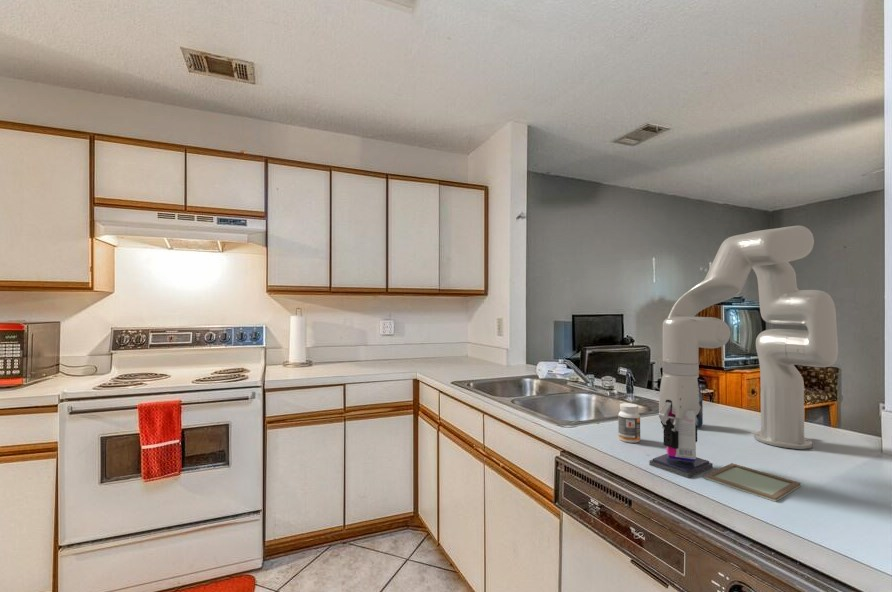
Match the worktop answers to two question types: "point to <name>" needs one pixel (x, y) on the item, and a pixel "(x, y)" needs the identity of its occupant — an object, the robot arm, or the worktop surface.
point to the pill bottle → (629, 423)
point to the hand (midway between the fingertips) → (680, 443)
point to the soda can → (700, 418)
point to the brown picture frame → (753, 481)
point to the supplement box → (684, 438)
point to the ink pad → (681, 465)
